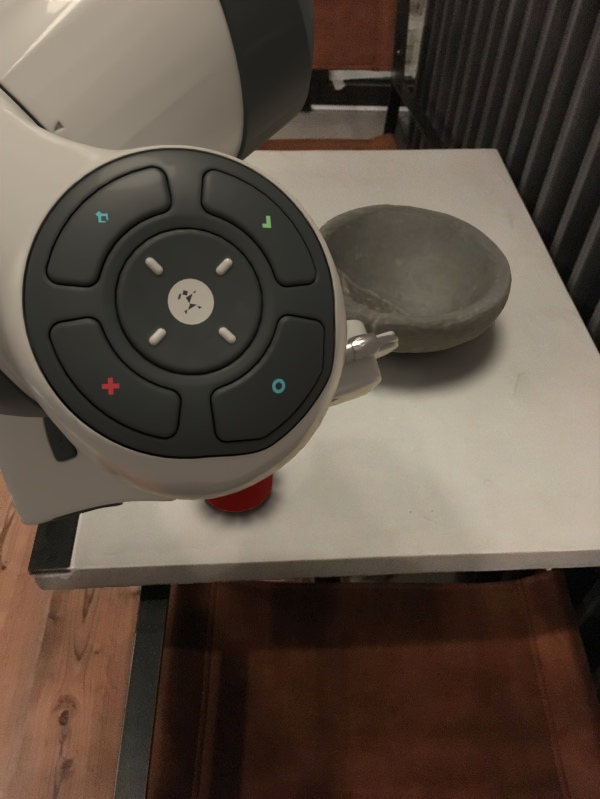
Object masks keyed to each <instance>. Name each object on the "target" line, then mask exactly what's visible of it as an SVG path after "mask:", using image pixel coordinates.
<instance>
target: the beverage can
mask: <svg viewBox="0 0 600 799" xmlns="http://www.w3.org/2000/svg"><path fill="white" fill-rule="evenodd" d="M273 484H274V473H273V474H272V475H270V476H268V477H267V478H265V479H263V480H261V481H260V482H258V483H256V484H254V485H252V486H250V487H248V488H246V489H243V490H241V491H239V492H235V493H232V494H229V495H226V496H222V497H217V498H212V499H205V500H206V502H208V503H209V504H210V505H211V506H212V507H214V508H216V509H218V510H220V511H224V512H229V513H239V512H241V513H242V512H246V511H249V510H252V509H254V508H257V507H258V506H259V505H261V504H263V503H264V501H265V500H266V499H267V498H268V497H269V496H270V493H271V492H272V490H273V489H272V488H273Z"/></svg>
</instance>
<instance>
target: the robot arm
mask: <svg viewBox="0 0 600 799" xmlns="http://www.w3.org/2000/svg"><path fill="white" fill-rule="evenodd" d="M314 10H315V9H314V0H0V472H1V476H2V478H3V481H4V484H5V486H6V489H7V492H8V494H9V496H10V499H11V501H12V504H13V507H14V509H15V510H16V512H17V515H18V517H19V519H20V521H21V523H22V524H23V525H26V526H38V525H41V524H44V523H47V522H50V521H53V522H57V521H60V520H64V519H67V518H70V517H74V516H77V515H81V514H85V513H89V512H93V511H96V510H100V509H106V508H113V507H119V506H122V505H123V504H124V503H130V502H173V501H176V500H183V501H184V500H185V501H199V500H206V499H212V498H217V497H222V496H226V495H229V494H232V493H235V492H239V491H241V490H243V489H246V488H248V487H250V486H252V485H254V484H256V483H258V482H260V481H261V480H263V479H265V478H267V477H268V476H270V475H272V474H273V475H274V473H276V472H277V471H279V470H281V469H282V468H283V467H284V466H286V465H287V464H288V463H289V462H290V461H291V460H293V459H294V458H296V456H297V455H298V454H299V453H300V452H301V451H302V449H303V448H305V447H306V445H307V444H308V443H309V442H310V440H311V439H312V437H313V436H314V434H315V433H316V432H317V430H318V429H319V427H320V426H321V424H322V422H323V420H324V418H325V416H326V415H327V412H328V411H329V408H330V407H334V406H337V405H340V404H343V403H347V402H349V401H352V400H355V399H358V398H360V397H363V396H364V395H367V394H369V393H370V392H372V391H373V390H374V389H375V388H376V387H377V386H378V385H379V384H380V383H381V381H382V373H381V370H380V366H379V364H378V361H377V360H378V359H380V358H382V357H384V356H386V355H389V354H390V353H392V352H391V351H393V350H394V349H396V348H397V347H398V343H397V342H398V337H397V336H396V335H395V333H394V332H393V331H389V332H386V333H382V334H379V335H375V334H374V333H367V332H366V329H365V327H364V324H363V323H362V322H361V321H359V320H347V319H346V311H345V304H344V297H343V292H342V288H341V284H340V280H339V276H338V273H337V270H336V267H335V264H334V261H333V259H332V256H331V254H330V251H329V249H328V247H327V244H326V242H325V240H324V238H323V236H322V234H321V233H320V231H319V229H320V228H319V227H318V226H317V224H316V223H315V220H314V219H313V218H312V216H311V215H310V213H309V212H308V211H307V210H306V209H305V207H304V206H303V205H302V204H301V203H300V201H299V200H298V199H297V198H296V197H295V196H294V195H293V194H292V192H290V191H289V190H288V189H287V188H286V187H284V186H283V185H282V184H281V183H280V182H279V181H277V180H276V179H275V178H274V177H272V176H270V175H269V174H267V173H266V172H265V171H263V170H262V169H260V168H258V167H256V166H254V165H253V164H251V163H249V162H248V161H245V160H246V158H248V157H249V156H250V155H251V154H253V153H254V152H255V151H256V150H258V149H259V148H260V147H261V146H262V145H264V144H265V143H266V142H267V141H269V139H271V138H273V136H275V134H277V133H278V132H279V131H281V130H282V129H283V128H284V127H285V126H287V125H288V124H289V123H290V122H291V121H293V120H294V119H295V118H296V117H298V115H299V114H300V113H301V111H302V110H303V108H304V106H305V104H306V101H307V99H308V96H309V92H310V85H311V79H312V73H313V64H314V50H315V11H314Z"/></svg>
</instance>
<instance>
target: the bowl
mask: <svg viewBox="0 0 600 799" xmlns="http://www.w3.org/2000/svg"><path fill="white" fill-rule="evenodd" d="M318 229H319V231H320V233H321V234H322V236H323V238H324V240H325V242H326V244H327V247H328V249H329V251H330V254H331V256H332V259H333V261H334V264H335V267H336V270H337V273H338V276H339V280H340V284H341V288H342V292H343V297H344V304H345V311H346V319H347V320H359V321H361V322H362V323H363V324H364V327H365V329H366V332H367V333H374V334H375V335H379V334H382V333H386V332H389V331H393V332H394V333H395V335H396V336H397V337H398V342H397V343H398V347H397V348H396V349H394V350H393V351H391V352H390V353H400V354H407V353H408V354H409V353H411V354H413V353H414V354H417V353H419V354H420V353H421V354H422V353H433V352H440V351H444V350H447V349H452V348H454V347H457V346H460V345H463V344H465V343H468V342H470V341H473V340H474V339H475V338H477V337H479V336H480V335H482V334H483V333H484V332H486V330H488V329H489V328H490V327H491V326H492V325H493V324H494V322H495V321H496V320H497V319H498V317H500V315H501V313H502V312H503V310H504V308H505V307H506V305H507V302H508V300H509V297H510V293H511V287H512V280H513V278H512V271H511V266H510V265H511V264H510V263H509V260H508V258H507V257H506V255H505V253H504V252H503V251H502V250H501V249H500V247H499V246H498V244H497V243H495V242H494V241H493V240H492V239H491V238H490V237H489V236H488V235H486V233H484V232H482V230H480V229H479V228H477V227H476V226H474V225H472V224H471V223H469V222H468V221H466V220H463V219H461V218H459V217H456V216H454V215H451V214H449V213H446V212H442V211H437V210H432V209H428V208H423V207H418V206H412V205H402V204H401V205H400V204H388V203H385V204H372V205H367V206H362V207H357V208H354V209H351V210H348V211H345V212H342V213H339V214H337V215H335V216H333V217H332V218H329V219H328V220H327V221H326V222H325V223H324V224H323V225H321V226H320V228H318Z"/></svg>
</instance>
